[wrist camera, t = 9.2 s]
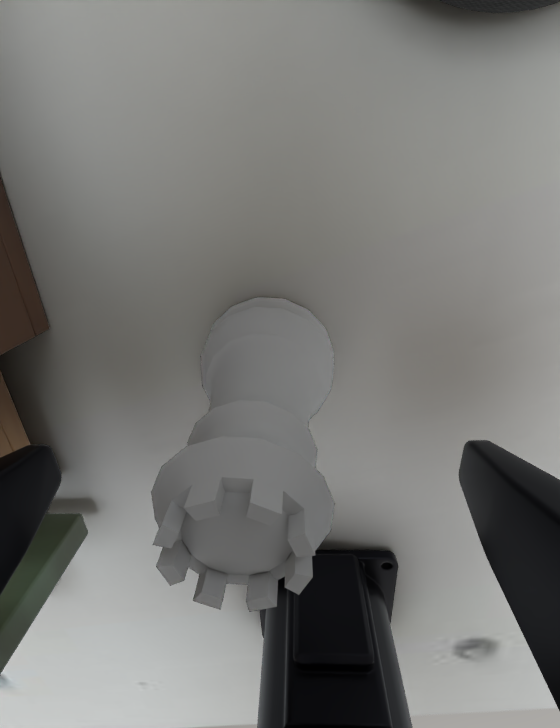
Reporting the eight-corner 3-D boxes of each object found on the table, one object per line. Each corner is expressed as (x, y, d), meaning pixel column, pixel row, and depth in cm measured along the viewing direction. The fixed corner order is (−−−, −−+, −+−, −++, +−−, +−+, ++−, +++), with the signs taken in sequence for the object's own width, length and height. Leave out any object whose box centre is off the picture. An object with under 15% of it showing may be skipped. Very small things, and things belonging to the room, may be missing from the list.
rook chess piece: (338, 401, 13) (386, 640, 6) (222, 414, 14) (141, 649, 7) (326, 283, 12) (373, 425, 4) (193, 303, 12) (39, 460, 5)
